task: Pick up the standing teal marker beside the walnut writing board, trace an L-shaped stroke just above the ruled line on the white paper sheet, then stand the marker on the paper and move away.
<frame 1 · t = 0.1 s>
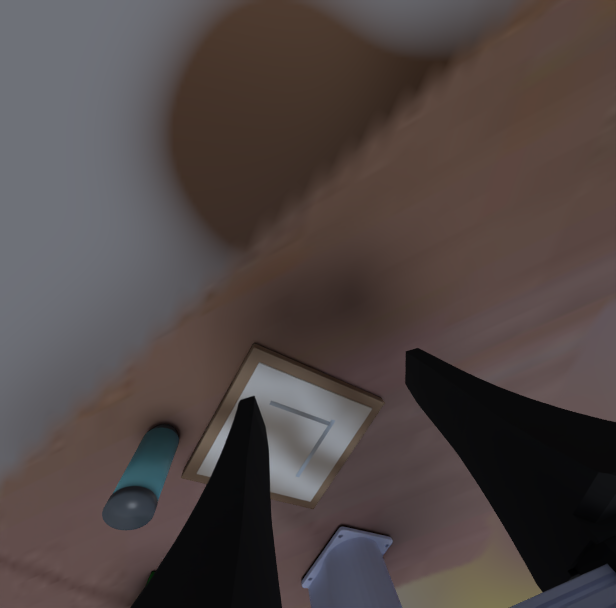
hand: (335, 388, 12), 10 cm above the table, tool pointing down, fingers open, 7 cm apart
writing board: (286, 432, 25), on the table
marker: (163, 435, 22), on the table
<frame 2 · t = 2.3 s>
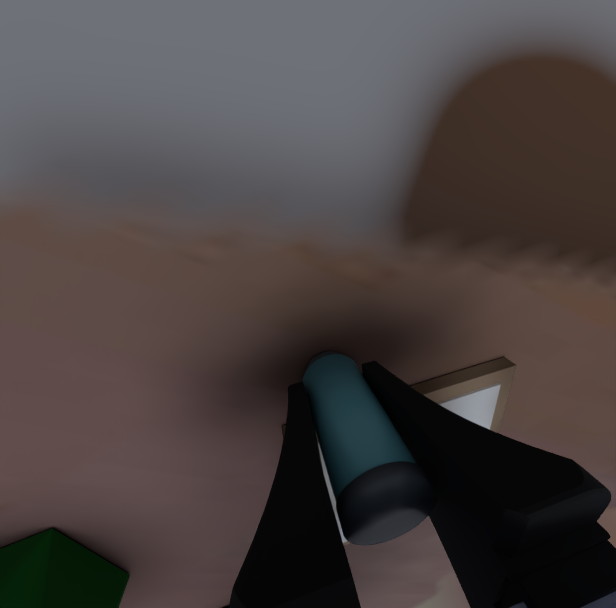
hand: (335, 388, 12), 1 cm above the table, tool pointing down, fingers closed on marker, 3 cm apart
writing board: (399, 461, 18), on the table
marker: (326, 368, 13), on the table, touching gripper
milk carton: (35, 573, 15), on the table
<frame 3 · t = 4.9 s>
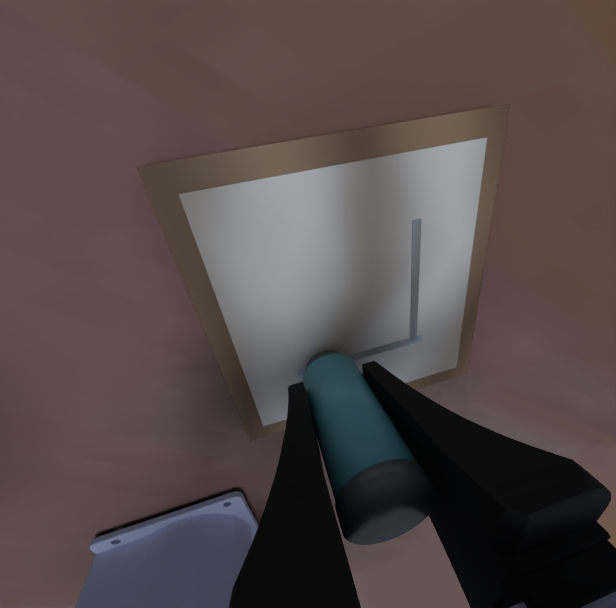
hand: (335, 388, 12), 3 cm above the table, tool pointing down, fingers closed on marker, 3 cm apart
writing board: (349, 297, 13), on the table
marker: (326, 368, 13), point 1 cm above the table, touching gripper
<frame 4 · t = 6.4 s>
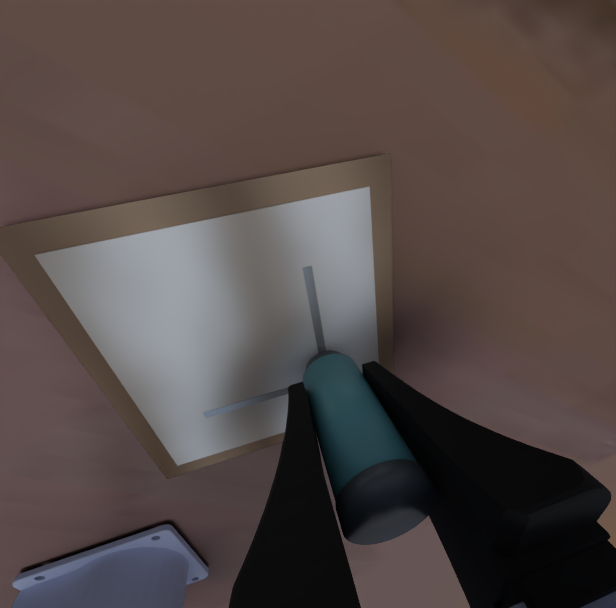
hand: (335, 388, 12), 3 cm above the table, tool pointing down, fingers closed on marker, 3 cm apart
writing board: (256, 338, 13), on the table
marker: (326, 368, 13), point 1 cm above the table, touching gripper
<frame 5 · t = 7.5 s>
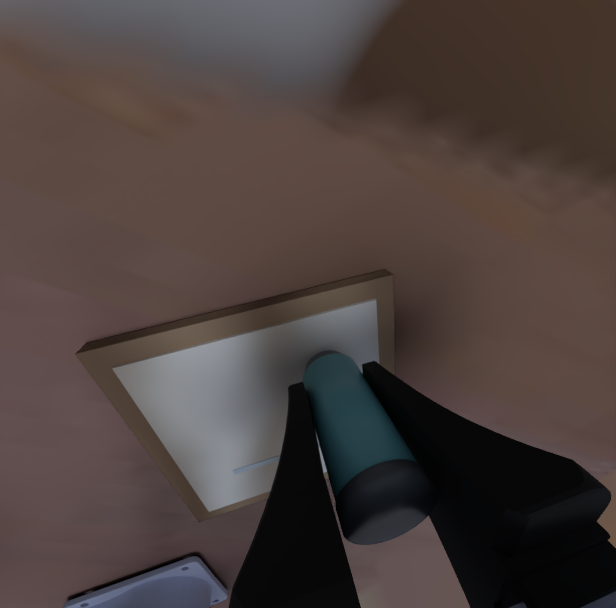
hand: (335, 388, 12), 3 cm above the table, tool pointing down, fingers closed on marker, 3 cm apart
writing board: (278, 407, 15), on the table
marker: (326, 368, 13), point 1 cm above the table, touching gripper
when the fingers open (3 cm above the table, at t = 8.4 s): marker stays where it is, resting on writing board.
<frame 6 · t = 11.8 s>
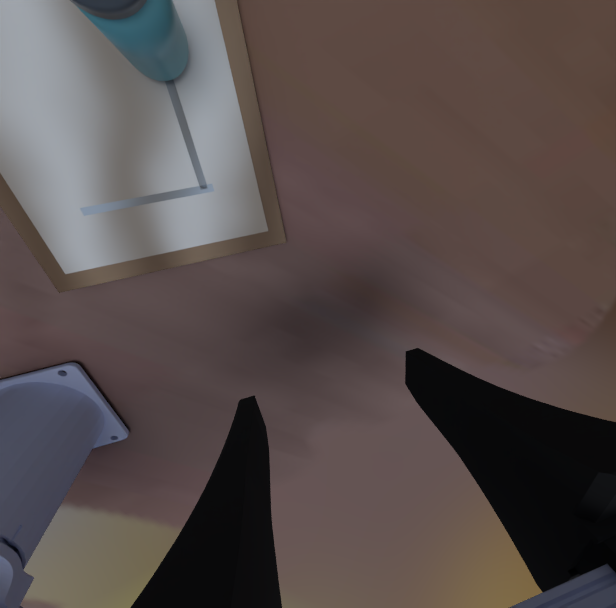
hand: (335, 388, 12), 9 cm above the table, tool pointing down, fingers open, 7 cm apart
writing board: (130, 138, 14), on the table
marker: (158, 47, 12), point 1 cm above the table, touching writing board
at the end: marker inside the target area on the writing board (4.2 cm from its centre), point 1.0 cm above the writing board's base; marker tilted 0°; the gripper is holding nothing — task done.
